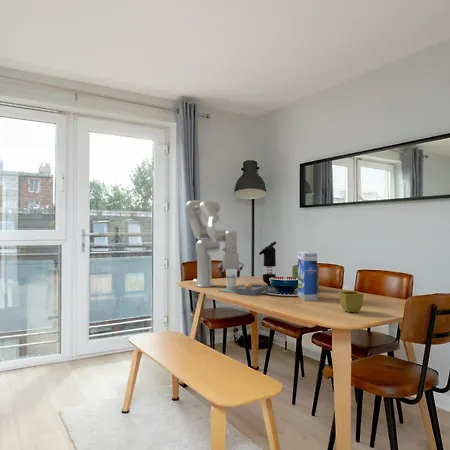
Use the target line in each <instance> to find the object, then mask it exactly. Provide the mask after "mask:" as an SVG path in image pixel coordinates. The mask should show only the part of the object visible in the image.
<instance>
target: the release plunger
mask: <svg viewBox="0 0 450 450" xmlns="http://www.w3.org/2000/svg"><path fill="white" fill-rule="evenodd" d="M252 284H253V283H249V282H248V283H245V286H246V288H248V289H250V288H251V287H252Z"/></svg>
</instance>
